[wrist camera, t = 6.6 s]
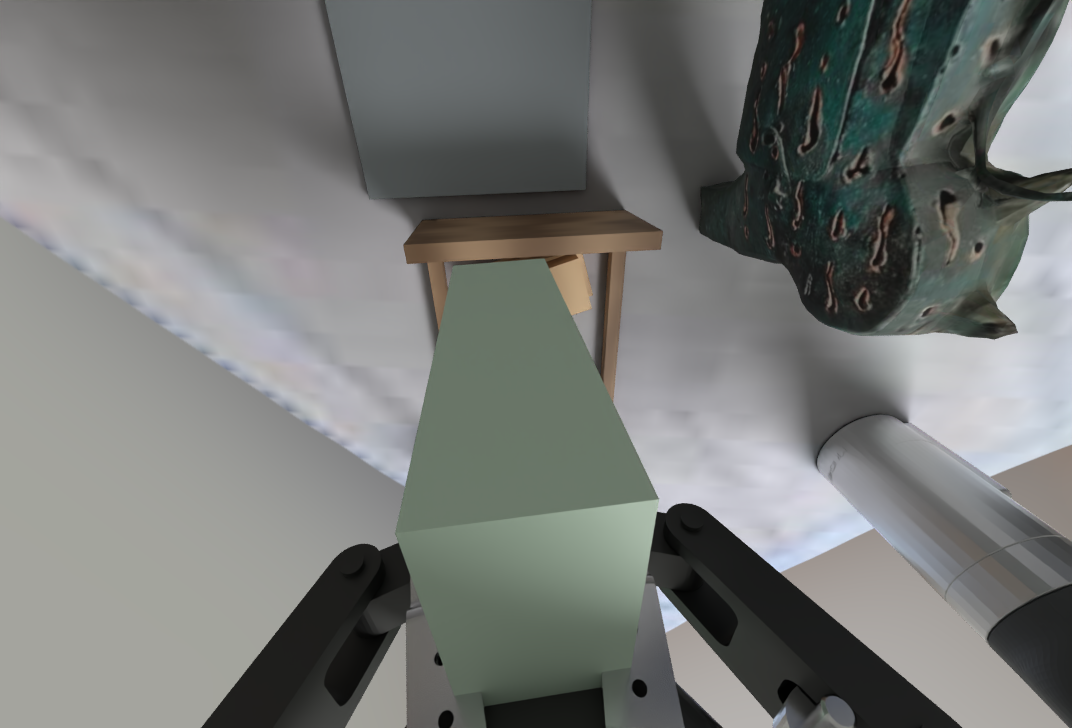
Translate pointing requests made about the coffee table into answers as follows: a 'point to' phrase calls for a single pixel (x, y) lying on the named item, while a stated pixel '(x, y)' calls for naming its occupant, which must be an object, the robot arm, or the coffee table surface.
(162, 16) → the coffee table surface
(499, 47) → the rubber mat
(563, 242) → the walnut rack
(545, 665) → the pale green block
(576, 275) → the offcut block
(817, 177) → the green animal sculpture
